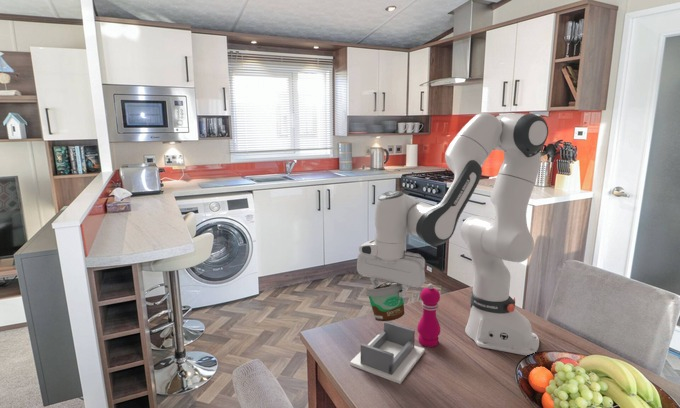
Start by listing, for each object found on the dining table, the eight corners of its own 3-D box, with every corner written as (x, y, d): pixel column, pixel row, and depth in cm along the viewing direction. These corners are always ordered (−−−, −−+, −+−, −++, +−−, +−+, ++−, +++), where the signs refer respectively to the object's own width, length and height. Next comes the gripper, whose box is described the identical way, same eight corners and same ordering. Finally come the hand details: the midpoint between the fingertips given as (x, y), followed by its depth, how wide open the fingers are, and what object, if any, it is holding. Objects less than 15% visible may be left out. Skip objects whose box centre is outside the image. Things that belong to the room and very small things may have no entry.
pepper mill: (440, 349, 122) (443, 289, 118) (416, 346, 124) (418, 287, 120) (439, 336, 129) (442, 280, 125) (417, 334, 131) (419, 278, 127)
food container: (383, 327, 108) (377, 292, 107) (371, 321, 113) (364, 288, 112) (417, 311, 114) (411, 278, 113) (404, 307, 119) (398, 275, 118)
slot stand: (424, 351, 121) (425, 331, 120) (400, 384, 106) (400, 361, 105) (378, 336, 130) (378, 317, 128) (350, 364, 115) (349, 343, 113)
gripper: (429, 251, 108) (427, 298, 111) (364, 240, 119) (364, 282, 122) (421, 258, 103) (419, 307, 106) (354, 245, 114) (354, 290, 117)
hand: (389, 294), depth 114 cm, fingers closed on food container, 7 cm apart
